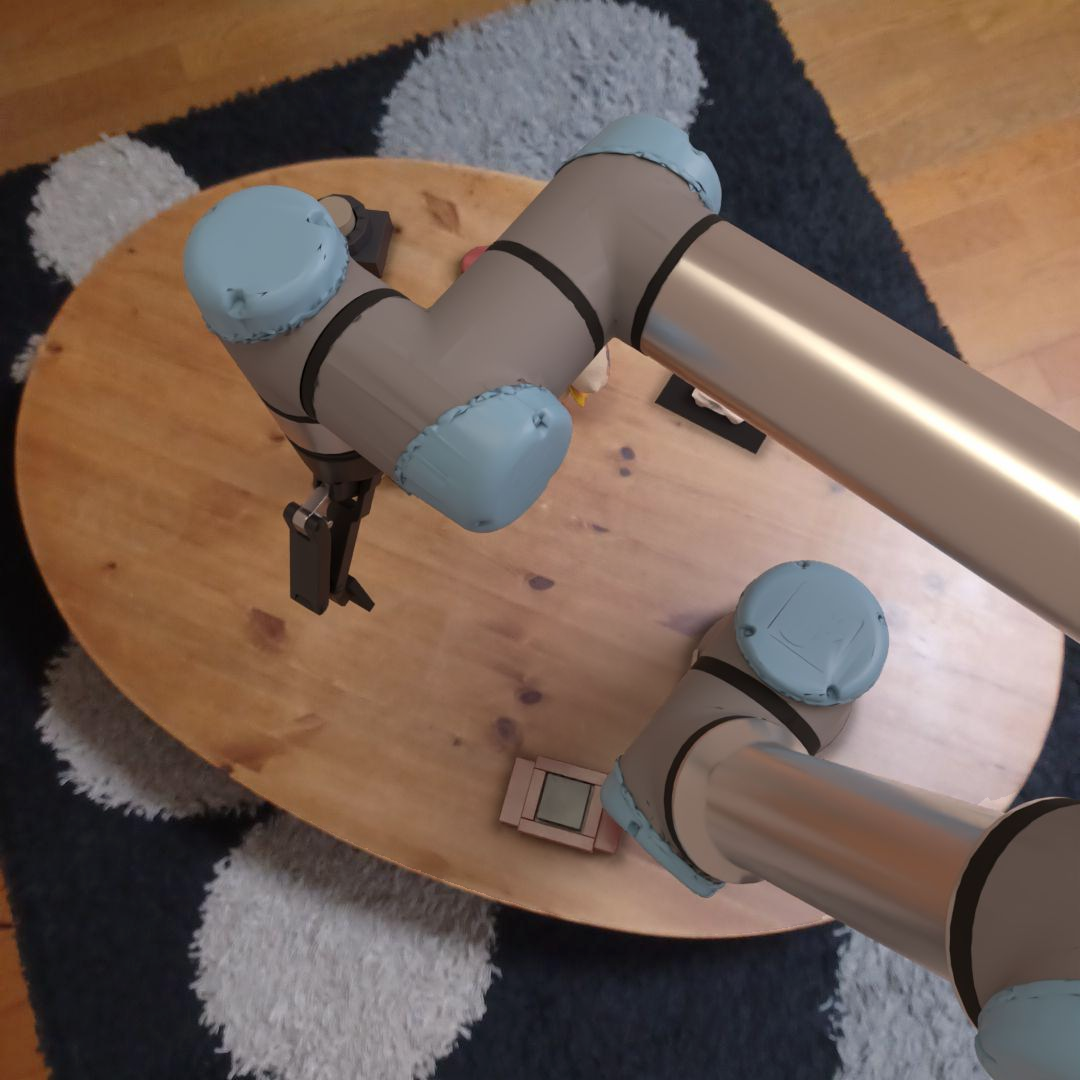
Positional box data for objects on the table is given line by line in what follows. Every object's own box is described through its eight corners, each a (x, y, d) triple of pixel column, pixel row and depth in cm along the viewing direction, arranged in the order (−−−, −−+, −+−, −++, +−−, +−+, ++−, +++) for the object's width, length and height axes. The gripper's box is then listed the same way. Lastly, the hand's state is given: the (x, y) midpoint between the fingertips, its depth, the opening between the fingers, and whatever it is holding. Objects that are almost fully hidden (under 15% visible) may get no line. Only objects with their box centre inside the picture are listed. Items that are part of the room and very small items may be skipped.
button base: (394, 226, 117) (385, 198, 112) (381, 279, 115) (371, 253, 110) (311, 218, 118) (299, 190, 113) (296, 270, 116) (283, 244, 111)
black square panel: (591, 786, 91) (591, 784, 89) (580, 831, 90) (580, 829, 88) (548, 775, 92) (547, 772, 90) (537, 819, 90) (536, 817, 89)
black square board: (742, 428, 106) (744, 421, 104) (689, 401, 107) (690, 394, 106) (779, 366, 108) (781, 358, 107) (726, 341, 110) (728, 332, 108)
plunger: (359, 209, 113) (355, 197, 111) (350, 242, 111) (346, 231, 109) (321, 205, 113) (316, 194, 111) (312, 238, 112) (307, 227, 110)
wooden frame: (631, 785, 94) (633, 780, 91) (613, 860, 92) (614, 858, 88) (519, 754, 96) (515, 748, 92) (498, 827, 94) (494, 824, 90)
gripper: (404, 222, 64) (453, 386, 84) (160, 541, 57) (276, 637, 77) (503, 270, 62) (530, 426, 82) (263, 605, 56) (355, 686, 75)
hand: (407, 528), depth 80 cm, fingers open, 13 cm apart
